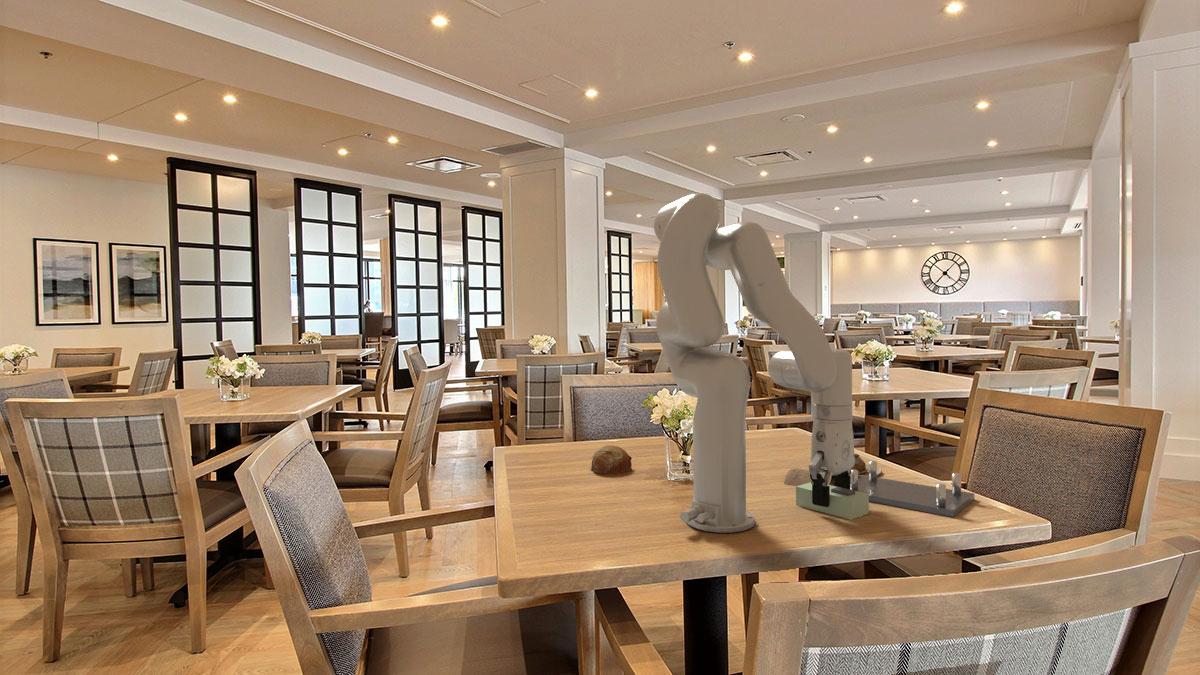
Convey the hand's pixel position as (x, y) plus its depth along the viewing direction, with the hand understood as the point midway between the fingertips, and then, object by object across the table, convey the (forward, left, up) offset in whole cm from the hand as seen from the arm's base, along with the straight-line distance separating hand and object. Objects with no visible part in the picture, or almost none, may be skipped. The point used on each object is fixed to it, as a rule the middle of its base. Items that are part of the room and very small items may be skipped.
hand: (831, 499), depth 123 cm
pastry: (+31, +8, -2) cm, 32 cm away
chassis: (+17, -8, -2) cm, 19 cm away
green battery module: (0, 0, -2) cm, 2 cm away
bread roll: (-5, +54, -2) cm, 54 cm away
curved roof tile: (+17, +12, -3) cm, 21 cm away
